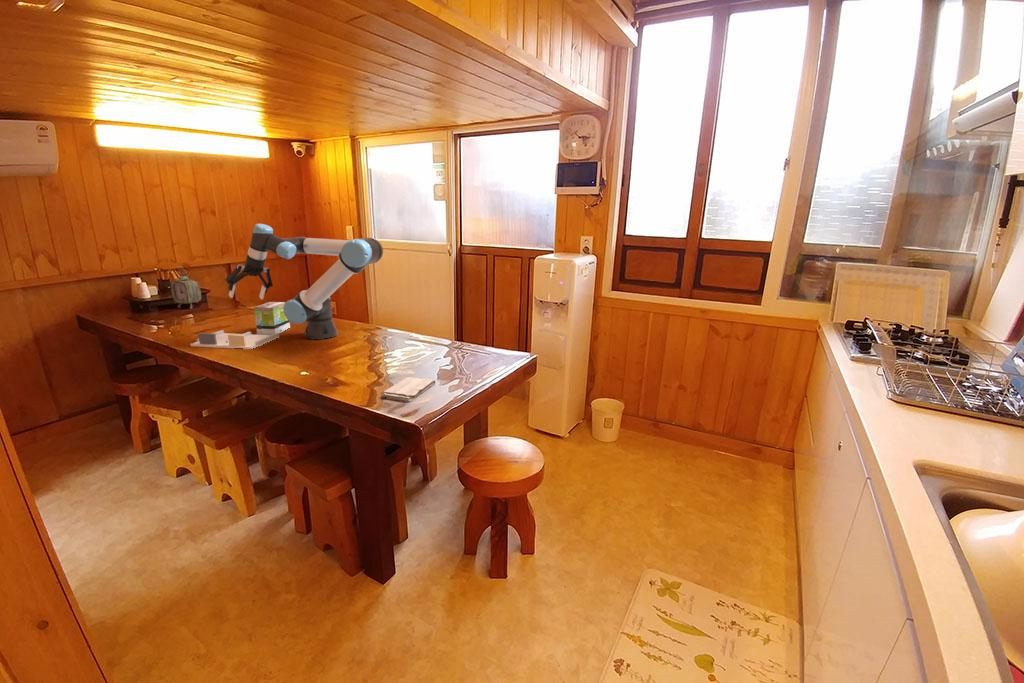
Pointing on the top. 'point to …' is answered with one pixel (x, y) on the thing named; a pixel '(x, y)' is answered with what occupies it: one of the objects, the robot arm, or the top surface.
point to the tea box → (271, 318)
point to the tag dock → (232, 340)
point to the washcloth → (408, 389)
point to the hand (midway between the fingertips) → (246, 297)
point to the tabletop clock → (185, 290)
